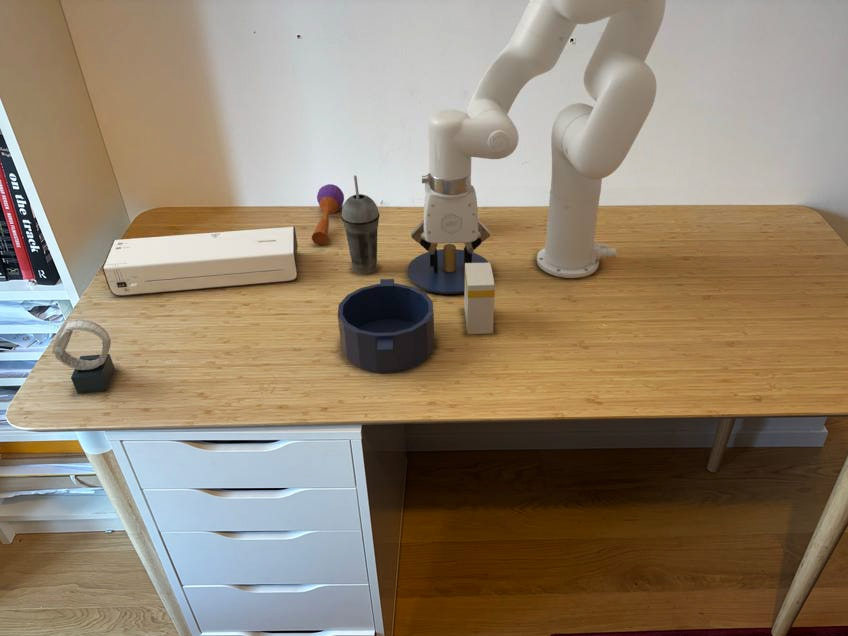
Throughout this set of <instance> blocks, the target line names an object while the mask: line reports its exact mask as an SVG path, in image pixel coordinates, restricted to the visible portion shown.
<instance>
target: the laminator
mask: <svg viewBox="0 0 848 636" xmlns="http://www.w3.org/2000/svg"><path fill="white" fill-rule="evenodd" d="M298 247H299V246H298V239H297V232H296V227H295V226H283V227H272V228H271V227H269V228H258V229H243V230H232V231H218V232H217V231H216V232H205V233H204V232H203V233H193V234H192V233H190V234H179V235H177V234H176V235H164V236H163V235H162V236H152V237H151V236H150V237H149V236H148V237H137V238H125V239H113V240H112V243H111V245H110V247H109V250H108V253H107V255H106V258H105V260H104V262H103V265H102V267H101V268H102V273H103V276H104V278H105V281H106V285H107V287H108V290H109V291H110V294H112V295H113V296H116V297H129V296H131V297H132V296H141V295H142V296H143V295H155V294H165V293H176V292H185V291H186V292H188V291H198V290H199V291H200V290H209V289H211V290H212V289H220V288H221V289H223V288H232V287H233V288H234V287H245V286H256V285H257V286H258V285H267V284H276V283H277V284H279V283H290V282H293V281H296V280H297V279H298V276H299V275H298V274H299V270H298Z"/></svg>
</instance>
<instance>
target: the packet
mask: <svg viewBox="0 0 848 636" xmlns="http://www.w3.org/2000/svg"><path fill="white" fill-rule="evenodd" d="M491 267H492V264H491V262H489V263H465V293H464V317H465V325H466V332H467V335H477V334H478V335H482V334H494V318H495V316H494V315H495V294H496V293H495V292H496V291H495V290H496V289H495V288H496V284H495V279H494V274H493V268H491Z"/></svg>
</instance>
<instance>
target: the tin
mask: <svg viewBox="0 0 848 636" xmlns="http://www.w3.org/2000/svg"><path fill="white" fill-rule="evenodd" d="M379 282H380V283H376V284H372V285H368V286H363V287H360V288H358V289H356V290H354V291H352V292H350V293H348V294H347V295H345V296H344V298H343V299H342V300H341V301H340V302H339V304H338V309H337V323H338V330H339V331H338V332H339V338H340V347H341V351H342V353H343V355H344V357H345V359H346V360H347V361H348V362H349V363H350V364H351V365H353V366H355V367H356V368H358V369H360V370H363V371H367V372H372V373H378V374H391V373H399V372H404V371H407V370H411V369H413V368H415V367H417V366H419V365H421V364H422V363H424V362H425V361H426V360H427V359H428V358H429V357H430V356H431V354H432V353H433V350H434V347H435V321H434V320H435V316H434V312H435V311H434V301H433V300H432V299H431V298H430V296H428V294H427V293H426V292H425V291H422V290H421V289H419V288H416V287H414V286H412V285H406V284H402V283H395V279H394V278H380V279H379Z"/></svg>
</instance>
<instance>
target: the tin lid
mask: <svg viewBox="0 0 848 636" xmlns="http://www.w3.org/2000/svg"><path fill="white" fill-rule="evenodd" d="M442 248H443V249H442ZM442 248H441V249H437V261H438V272H434V266H431V267H430V254H429V252H428V251H427V252H424V253H422V254H419V255H418V256H416V257H415V258H413V259H412V260H411V261H410V263H409V264H408V266H407V269H406V270H407V271H406V273H407V277H408V279H409V281H410V282H411V283H412V285H413V284H414V285H415V286H416V287H418V288H420V289H422V290H424V291H427V292H430V293H434V294H441V295H456V294H465V269H464V249H460V248H459V249H458V248H457V246H456V245H455V244H454V243H445V244H444V245H443V246H442ZM472 263H490V262H489V260H487V259H486V258H485V257H483V256H482V255H480V254H478V253H475V252H473V253H472ZM491 268H492V266H491ZM492 269H493V268H492Z"/></svg>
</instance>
